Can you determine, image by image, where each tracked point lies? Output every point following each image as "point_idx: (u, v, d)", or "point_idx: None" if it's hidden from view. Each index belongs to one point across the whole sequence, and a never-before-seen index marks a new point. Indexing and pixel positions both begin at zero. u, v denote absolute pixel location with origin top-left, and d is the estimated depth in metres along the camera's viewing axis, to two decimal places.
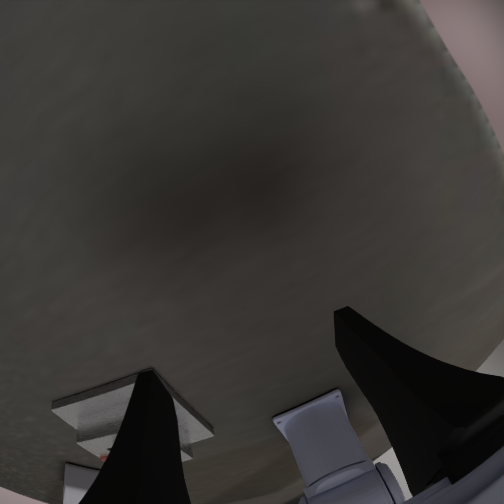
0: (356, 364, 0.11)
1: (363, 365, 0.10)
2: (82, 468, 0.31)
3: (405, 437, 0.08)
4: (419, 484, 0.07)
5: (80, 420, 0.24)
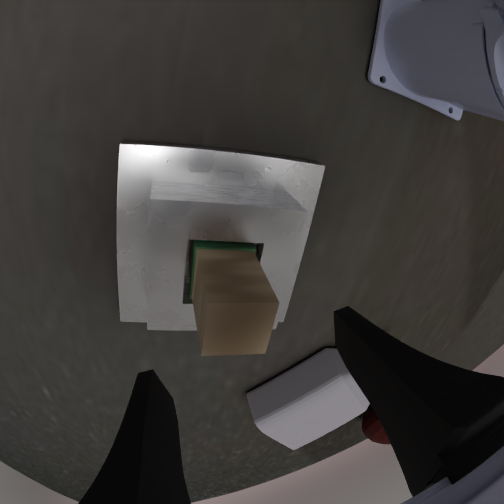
0: (356, 364, 0.11)
1: (363, 365, 0.10)
2: (266, 383, 0.29)
3: (405, 437, 0.08)
4: (419, 484, 0.07)
5: None
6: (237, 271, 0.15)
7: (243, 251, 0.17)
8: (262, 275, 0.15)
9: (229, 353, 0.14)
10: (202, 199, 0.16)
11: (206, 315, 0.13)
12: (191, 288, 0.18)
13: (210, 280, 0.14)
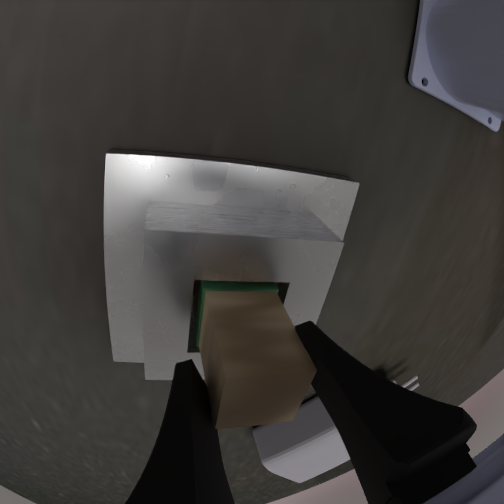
0: (317, 380, 0.11)
1: (322, 382, 0.10)
2: None
3: (360, 459, 0.08)
4: None
5: None
6: (260, 323, 0.12)
7: (263, 292, 0.14)
8: (291, 329, 0.12)
9: (249, 424, 0.11)
10: (213, 228, 0.12)
11: (223, 390, 0.09)
12: (198, 335, 0.14)
13: (227, 340, 0.11)
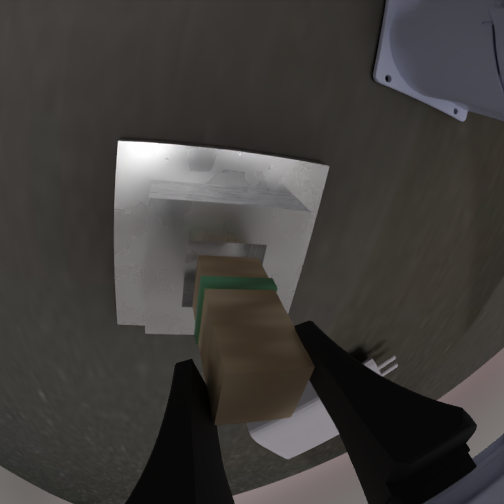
0: (317, 380, 0.11)
1: (322, 382, 0.10)
2: None
3: (360, 459, 0.08)
4: None
5: None
6: (258, 320, 0.12)
7: (262, 290, 0.14)
8: (289, 326, 0.12)
9: (248, 421, 0.11)
10: (203, 198, 0.15)
11: (222, 386, 0.10)
12: (197, 333, 0.14)
13: (226, 337, 0.11)
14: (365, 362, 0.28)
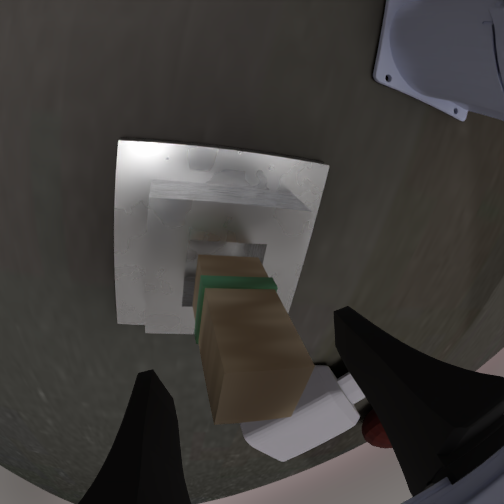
0: (356, 364, 0.11)
1: (363, 365, 0.10)
2: None
3: (405, 437, 0.08)
4: (419, 484, 0.07)
5: None
6: (258, 320, 0.12)
7: (262, 290, 0.14)
8: (289, 325, 0.12)
9: (248, 420, 0.11)
10: (203, 198, 0.15)
11: (222, 385, 0.10)
12: (197, 332, 0.14)
13: (226, 336, 0.11)
14: None
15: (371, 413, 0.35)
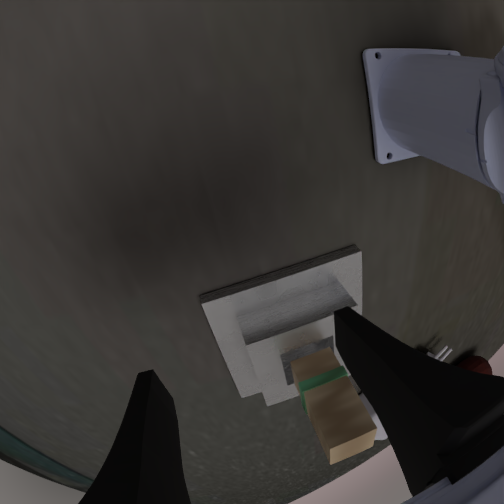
0: (356, 364, 0.11)
1: (363, 365, 0.10)
2: None
3: (405, 437, 0.08)
4: (419, 484, 0.07)
5: None
6: (341, 406, 0.18)
7: (339, 379, 0.19)
8: (359, 403, 0.17)
9: (348, 456, 0.17)
10: (281, 328, 0.21)
11: (330, 452, 0.16)
12: (305, 409, 0.21)
13: (325, 425, 0.17)
14: None
15: None
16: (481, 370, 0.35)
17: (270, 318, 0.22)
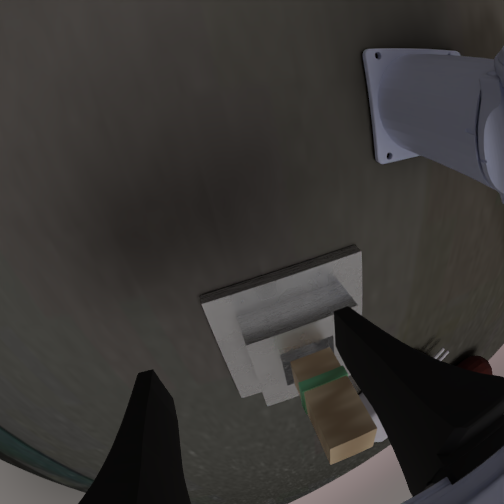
0: (356, 364, 0.11)
1: (363, 365, 0.10)
2: None
3: (405, 437, 0.08)
4: (419, 484, 0.07)
5: None
6: (341, 406, 0.18)
7: (339, 379, 0.19)
8: (359, 403, 0.17)
9: (348, 456, 0.17)
10: (281, 328, 0.21)
11: (330, 452, 0.16)
12: (305, 409, 0.21)
13: (325, 425, 0.17)
14: None
15: None
16: (481, 370, 0.35)
17: (270, 318, 0.22)
